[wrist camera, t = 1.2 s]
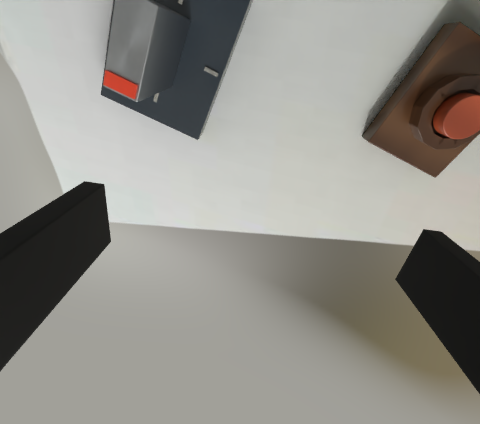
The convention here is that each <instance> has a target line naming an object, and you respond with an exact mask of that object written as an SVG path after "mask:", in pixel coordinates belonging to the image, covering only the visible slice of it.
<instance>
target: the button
mask: <svg viewBox="0 0 480 424" xmlns="http://www.w3.org/2000/svg"><path fill="white" fill-rule="evenodd" d="M433 125H434V128H435V130H436V131H437V132H438V133H440V134H442V135H445V136H447V137H449V138H452V139H463V138H467V137H469V136H471V135H473V134H475V133H476V132H478V131H479V130H480V95H476V94H472V93H459V94H456V95H453V96H451V97H449V98H448V99H446V100H445V101H444V102H443V103H442V104H441V105H440V106H439V107H438V109H437V110H436V112H435V115H434V118H433Z"/></svg>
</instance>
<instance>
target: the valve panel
mask: <svg viewBox="0 0 480 424" xmlns="http://www.w3.org/2000/svg"><path fill="white" fill-rule="evenodd" d="M153 1H155V2H158V3H160V4H162V5H164V6H166V7H168V8H169V9H171V10H173V11H175V12H177V13H178V14H180V15H182V16H184V17H186V18H187V19H189V20H190V21H191V22H190V25H189V29H188V32H187V36H186V39H185V43H184V46H183V50H182V53H181V57H180V61H179V64H178V68H177V71H176V75H175V78H174V82H173V85H172V87H171V88H168V89H166V90H164V91H161V92H159V93H157V94H155V95H152V96H150V97H148V98H145V99H143V100H141V101H138V102H135V101H133V100H131V99H129V98H127V97H125V96H123V95H121V94H118V93H116V92H114V91H112V90H110V89H108V88H106V87H104V86H103V83H102V90H101V95H102V96H105V97H107V98H109V99H111V100H113V101H115V102H117V103H120V104H122V105H124V106H126V107H128V108H130V109H132V110H135V111H137V112H139V113H141V114H143V115H145V116H148V117H150V118H152V119H154V120H156V121H158V122H160V123H163V124H165V125H167V126H169V127H171V128H173V129H176V130H178V131H180V132H182V133H184V134H186V135H188V136H191V137H193V138H195V139H197V140H198V139H199V138H200V136H201V135H202V133H203V131H204V128H205V126H206V123H207V120H208V118H209V115H210V112H211V110H212V107H213V104H214V102H215V99H216V97H217V94H218V91H219V89H220V86H221V83H222V81H223V78H224V75H225V73H226V70H227V68H228V65H229V62H230V60H231V57H232V54H233V52H234V49H235V46H236V44H237V41H238V39H239V36H240V33H241V31H242V28H243V25H244V23H245V20H246V17H247V15H248V12H249V10H250V7H251V4H252V2H253V0H153ZM114 4H115V0H114ZM113 11H114V5H113ZM112 18H113V12H112ZM111 25H112V19H111ZM110 32H111V26H110ZM109 39H110V33H109ZM108 46H109V40H108ZM107 53H108V47H107ZM106 60H107V54H106ZM105 67H106V62H105ZM104 74H105V69H104ZM103 81H104V76H103Z"/></svg>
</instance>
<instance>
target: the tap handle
mask: <svg viewBox="0 0 480 424" xmlns="http://www.w3.org/2000/svg"><path fill="white" fill-rule="evenodd" d="M190 22H191V21H190V20H189V19H187V18H186V17H184V16H182V15H180V14H178V13H177V12H175V11H173V10H171V9H169V8H168V7H166V6H164V5H162V4H160V3H158V2H155V1H153V0H115V4H114V11H113V18H112V25H111V32H110V39H109V46H108V53H107V60H106V67H105V74H104V81H103V86H104V87H106V88H108V89H110V90H112V91H114V92H116V93H118V94H121V95H123V96H125V97H127V98H129V99H131V100H133V101H135V102H138V101H141V100H143V99H145V98H148V97H150V96H152V95H155V94H157V93H159V92H161V91H164V90H166V89H168V88H171V87H172V85H173V82H174V78H175V75H176V71H177V68H178V64H179V61H180V57H181V53H182V50H183V46H184V43H185V39H186V36H187V32H188V29H189V25H190Z"/></svg>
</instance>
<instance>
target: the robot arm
mask: <svg viewBox="0 0 480 424" xmlns="http://www.w3.org/2000/svg"><path fill="white" fill-rule="evenodd" d="M110 242H111V238H110V230H109V221H108V213H107V204H106V196H105V187H104V184H99V183H92V182H85V181H84V182H83V183H81V184H80V185H78V186H76V187H75V188H73V189H72V190H70V191H68V192H67V193H65V194H63V195H62V196H60V197H59V198H57V199H55V200H54V201H52V202H51V203H49V204H48V205H46V206H44V207H43V208H41V209H40V210H38V211H36V212H34V213H33V214H31V215H30V216H28V217H26V218H25V219H23V220H21V221H20V222H18V223H17V224H15V225H13V226H12V227H10V228H8V229H7V230H5V231H4V232H2V233H0V371H1V370H2V369H3V367H4V366H5V365H6V364H7V363H8V361H9V360H10V359H11V358H12V357H13V356H14V354H15V353H16V352H17V351H18V350H19V349H20V347H21V346H22V345H23V344H24V343H25V342H26V340H27V339H28V338H29V337H30V336H31V335H32V333H33V332H34V331H35V330H36V329H37V328H38V326H39V325H40V324H41V323H42V322H43V321H44V319H45V318H46V317H47V316H48V315H49V313H50V312H51V311H52V310H53V309H54V308H55V306H56V305H57V304H58V303H59V302H60V301H61V299H62V298H63V297H64V296H65V295H66V294H67V292H68V291H69V290H70V289H71V288H72V286H73V285H74V284H75V283H76V282H77V281H78V279H79V278H80V277H81V276H82V275H83V274H84V272H85V271H86V270H87V269H88V268H89V267H90V265H91V264H92V263H93V262H94V261H95V260H96V258H97V257H98V256H99V255H100V254H101V252H102V251H103V250H104V249H105V248H106V247H107V246H108V244H109V243H110ZM396 281H397V282H398V283H399V285H400V286H401V288H402V289H403V290H404V292H405V293H406V294H407V296H408V297H409V298H410V300H411V301H412V303H413V304H414V305H415V307H416V308H417V309H418V311H419V312H420V313H421V315H422V316H423V318H424V319H425V320H426V322H427V323H428V324H429V326H430V327H431V328H432V330H433V331H434V332H435V334H436V335H437V336H438V338H439V339H440V341H441V342H442V343H443V345H444V346H445V347H446V349H447V350H448V352H449V353H450V354H451V355H452V357H453V358H454V360H455V361H456V362H457V364H458V365H459V367H460V368H461V369H462V371H463V372H464V373H465V375H466V376H467V377H468V379H469V380H470V381H471V383H472V384H473V386H474V387H475V388H476V390H477V391H478V392H479V394H480V262H479V261H478V260H476V259H475V258H474V257H473V256H471V255H470V254H469V253H467V252H466V251H465V250H464V249H463V248H461V247H460V246H459V245H457V244H456V243H455V242H454V241H452V240H451V239H450V238H449V237H447V236H446V235H445V234H444V233H442V232H439V231H432V230H425V229H424V230H423V231H422V233H421V235H420V237H419V238H418V240H417V242H416V244H415V245H414V247H413V249H412V251H411V253H410V254H409V256H408V258H407V260H406V262H405V263H404V265H403V267H402V269H401V270H400V272H399V274H398V275H397V278H396Z"/></svg>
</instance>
